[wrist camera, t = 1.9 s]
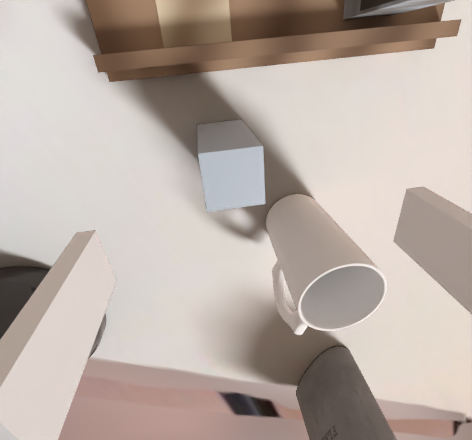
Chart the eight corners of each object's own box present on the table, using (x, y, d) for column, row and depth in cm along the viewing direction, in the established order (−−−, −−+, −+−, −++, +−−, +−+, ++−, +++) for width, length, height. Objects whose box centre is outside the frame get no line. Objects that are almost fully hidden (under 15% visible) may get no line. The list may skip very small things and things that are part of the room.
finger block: (203, 167, 26) (207, 211, 19) (197, 124, 24) (197, 153, 16) (245, 162, 27) (266, 203, 19) (242, 119, 24) (264, 145, 17)
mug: (283, 181, 28) (334, 250, 18) (334, 204, 30) (406, 278, 20) (238, 255, 32) (259, 347, 22) (286, 271, 34) (325, 361, 24)
